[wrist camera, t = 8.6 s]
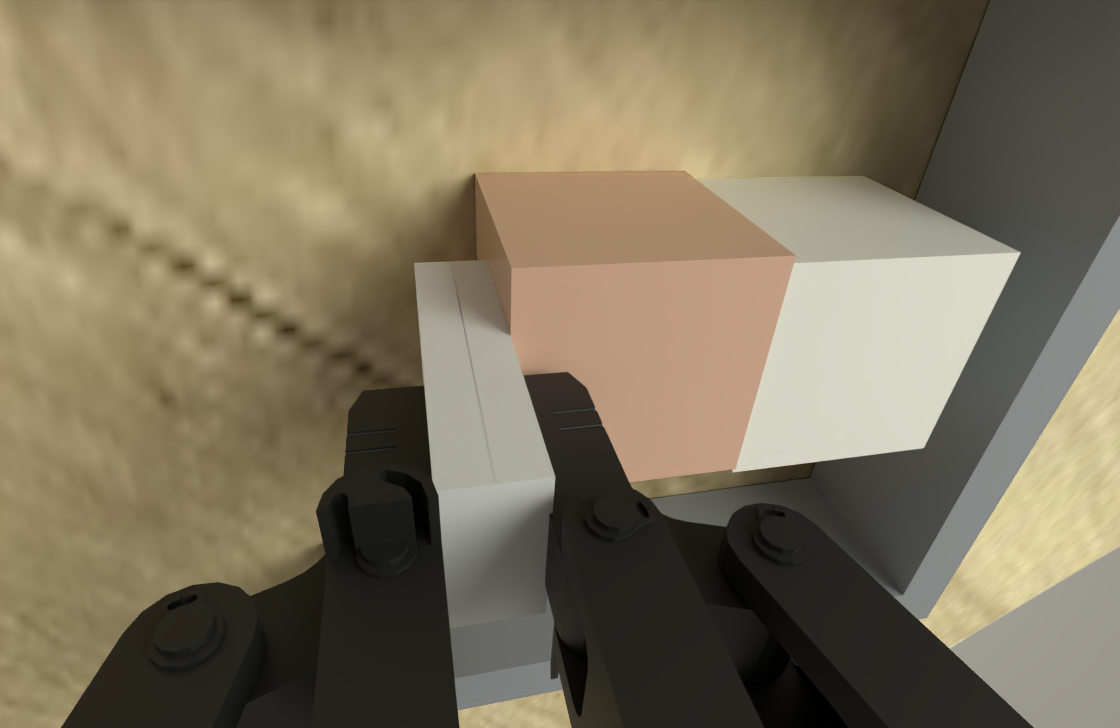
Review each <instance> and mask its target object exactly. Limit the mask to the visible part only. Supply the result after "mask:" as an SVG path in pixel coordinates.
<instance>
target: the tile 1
mask: <svg viewBox="0 0 1120 728" xmlns="http://www.w3.org/2000/svg"><path fill="white" fill-rule="evenodd" d="M475 201H476V254H477V260H487V263H488V266H489V269H490V272H491V275H492V278H493V282H494V285H495V288H496V291H497V294H498V297H499V301H500V304H501V307H502V310H503V313H504V316H505V320H506V323H507V326H508V329H509V332H510V335H511V339H512V342H513V345H514V348H515V351H516V354H517V357H518V361H519V364H520V367H521V370H522V373H523V375H535V374H547V373H559V372H569V373H570V374H571V375H572V376H573V377H575V378H576V379H577V380H578V381H579V382H581V383H582V384H583V385H584V386H585V387H587V390H588V392H589V394H590V396H591V399H592V401H593V403H594V405H595V410H596V411H597V412H598V414H599V416H600V419H601V421H602V426H603V427H605V430H606V432H607V434H608V436H609V439H610V441H611V443H612V445H613V447H614V450H615V452H616V454H617V456H618V458H619V461H620V463H621V465H622V467H623V470H624V472H625V474H626V476H627V478H628V481H629V482H636V481H644V480H652V479H660V478H668V477H676V476H684V475H692V474H700V473H708V472H716V471H724V470H732V469H736V466H737V462H738V459H739V455H740V452H741V448H742V445H743V441H744V438H745V434H746V431H747V427H748V423H749V420H750V416H751V413H752V409H753V406H754V402H755V399H756V395H757V392H758V388H759V385H760V381H761V378H762V374H763V371H764V367H765V364H766V360H767V357H768V353H769V350H770V346H771V343H772V339H773V336H774V332H775V329H776V325H777V321H778V318H779V314H780V311H781V307H782V304H783V300H784V297H785V293H786V290H787V286H788V283H789V279H790V276H791V272H792V269H793V265H794V262H795V258H796V255H795V254H793V253H792V252H791V251H789V250H788V249H787V248H786V247H784V246H783V245H782V244H780V243H779V242H778V241H776V240H775V239H774V238H772V237H771V236H770V235H768V234H767V233H766V232H764V231H763V230H762V229H761V228H759V227H758V226H757V225H755V224H754V223H753V222H751V221H750V220H749V219H747V218H746V217H745V216H743V215H742V214H741V213H739V212H738V211H737V210H736V209H734V208H733V207H732V206H730V205H729V204H728V203H726V202H725V201H724V200H722V199H721V198H720V197H718V196H717V195H716V194H714V193H713V192H712V191H711V190H709V189H708V188H707V187H705V186H704V185H703V184H701V183H700V182H699V181H697V180H696V179H695V178H693V177H692V176H691V175H689V174H688V173H687V172H686V171H636V172H545V173H475Z"/></svg>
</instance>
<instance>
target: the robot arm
mask: <svg viewBox="0 0 1120 728" xmlns="http://www.w3.org/2000/svg"><path fill="white" fill-rule="evenodd" d="M414 270H415V282H416V295H417V308H418V321H419V334H420V346H421V359H422V372H423V384H424V386H414V387H402V388H390V389H378V390H366V391H363V392H362V393H361V395H360V396H359V398H358V399H357V400H356V402H355V403H354V404H353V406H352V407H351V409H350V410H349V415H348V427H347V440H346V456H345V464H344V476H342V477H341V478H339V479H337V480H336V481H335V482H334V483H333V484H332V485H331V486H330V487H329V488H328V489H327V490H326V491H325V492H324V493H323V495H322V497H321V500H320V502H319V505H318V507H317V510H316V513H317V518H318V522H319V527H320V531H321V535H322V540H323V544H324V549H325V553H326V554H325V555H324V556H323V557H322V558H321V559H320V560H319V562H317V563H316V564H315V565H313V566H312V567H311V568H309V569H308V570H307V571H305V572H304V573H302V574H300V575H298V576H296V577H294V578H292V579H290V580H288V581H286V582H284V583H282V584H279V585H277V586H274V587H272V588H269V589H267V590H265V591H262V592H260V593H257V594H255V595H252V596H249V595H248V594H246V593H245V592H244V591H243V590H242V589H241V588H239V587H236V586H232V585H228V584H223V583H219V582H216V583H207V584H198V585H192V586H189V587H187V588H184V589H181V590H179V591H176V592H174V593H171V594H168V595H166V596H165V597H163V598H162V599H160V600H159V601H157V602H156V603H154V604H153V605H151V606H150V607H149V608H147V609H146V610H144V611H143V612H142V613H141V614H140V615H139V616H138V617H137V618H136V619H135V620H134V622H133V623H132V624H131V625H130V626H129V627H128V628H127V629H126V631H125V632H124V633H123V634H122V636H121V637H120V639H119V640H118V642H117V643H116V645H115V646H114V648H113V649H112V651H111V652H110V654H109V655H108V657H107V658H106V660H105V662H104V663H103V665H102V666H101V668H100V669H99V671H98V672H97V674H96V675H95V677H94V678H93V680H92V681H91V683H90V684H89V686H88V687H87V689H86V690H85V692H84V693H83V695H82V697H81V698H80V700H79V701H78V703H77V704H76V706H75V707H74V709H73V710H72V712H71V713H70V715H69V716H68V718H67V719H66V721H65V722H64V724H63V725H62V727H61V728H459V720H458V709H457V699H456V688H455V677H454V667H453V656H452V646H451V635H450V628H456V627H462V626H468V625H474V624H480V623H486V622H492V621H498V620H504V619H510V618H516V617H522V616H528V615H534V614H539V613H545V612H546V601H547V595H548V599H549V603H550V607H551V611H552V615H553V619H554V627H553V639H552V651H551V663H550V670H551V679H556V678H558V674H559V675H560V680H561V684H562V688H563V692H564V697H565V701H566V705H567V709H568V714H569V718H570V722H571V727H572V728H1033V727H1032V726H1031V725H1030V724H1029V723H1028V722H1027V721H1026V720H1025V719H1024V718H1022V716H1020V714H1018V713H1017V712H1016V711H1015V710H1014V709H1013V708H1012V707H1011V706H1010V705H1009V704H1008V703H1007V702H1006V701H1005V700H1004V699H1002V698H1001V697H1000V696H999V695H998V694H997V693H996V692H995V691H994V690H993V689H992V688H991V687H990V686H989V685H987V684H986V683H985V682H984V681H983V680H982V679H981V678H980V677H979V676H978V675H977V674H976V673H974V671H972V670H971V669H970V668H969V667H968V666H967V665H966V664H965V663H964V662H963V661H962V660H961V659H960V658H959V657H957V656H956V655H955V654H954V653H953V652H952V651H951V650H950V649H949V648H948V647H947V646H946V645H945V644H944V643H943V642H941V641H940V640H939V639H938V638H937V637H936V636H935V635H934V634H933V633H932V632H931V631H930V630H929V629H928V628H926V627H925V626H924V625H923V624H922V623H921V622H920V621H919V620H918V619H917V618H916V617H915V616H914V615H913V614H911V613H910V612H909V611H908V610H907V609H906V608H905V607H904V606H903V605H902V604H901V603H900V602H899V601H898V600H897V599H895V598H894V597H893V596H892V595H891V594H890V593H889V592H888V591H887V590H886V589H885V588H884V587H883V586H882V585H880V584H879V583H878V582H877V581H876V580H875V579H874V578H873V577H872V576H871V575H870V574H869V573H868V572H867V571H865V570H864V569H863V568H862V567H861V566H860V565H859V564H858V563H857V562H856V561H855V560H854V559H853V558H852V557H851V556H849V555H848V554H847V553H846V552H845V551H844V550H843V549H842V548H841V547H840V546H839V545H838V544H837V543H836V542H834V541H833V540H832V539H831V538H830V537H829V536H828V535H827V534H826V533H825V532H824V531H823V530H822V529H821V528H819V527H818V526H817V525H816V524H815V523H813V522H812V521H810V520H809V519H808V518H806V517H805V516H803V515H802V514H801V513H799V512H796V511H794V510H791V509H789V508H786V507H784V506H781V505H775V504H767V503H757V504H751V505H746V506H743V507H742V508H740V509H739V510H737V511H736V512H734V513H733V514H732V515H731V517H730V520H729V522H728V524H727V526H726V527H725V526H717V525H710V524H702V523H694V522H687V521H683V520H678V519H674V518H671V517H668V516H666V515H664V514H661V512H660V511H659V510H658V508H657V507H656V506H655V504H654V503H653V502H652V500H650V499H649V498H647V497H646V496H644V495H643V494H641V493H640V492H638V491H637V490H634V489H633V488H632V487H631V485H630V483H629V481H628V478H627V476H626V474H625V472H624V470H623V467H622V465H621V463H620V461H619V458H618V456H617V454H616V452H615V450H614V447H613V445H612V443H611V441H610V439H609V436H608V434H607V432H606V430H605V427H603V426H602V421H601V419H600V416H599V414H598V412H597V411H596V410H595V405H594V403H593V401H592V399H591V396H590V394H589V392H588V390H587V387H585V386H584V385H583V384H582V383H581V382H579V381H578V380H577V379H576V378H575V377H573V376H572V375H571V374H570V373H569V372H559V373H547V374H535V375H523V373H522V370H521V367H520V364H519V361H518V357H517V354H516V351H515V348H514V345H513V342H512V339H511V335H510V332H509V329H508V326H507V323H506V320H505V316H504V313H503V310H502V307H501V304H500V301H499V297H498V294H497V291H496V288H495V285H494V282H493V278H492V275H491V272H490V269H489V266H488V263H487V260H471V261H447V262H422V263H414Z"/></svg>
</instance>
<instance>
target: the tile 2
mask: <svg viewBox="0 0 1120 728" xmlns="http://www.w3.org/2000/svg"><path fill="white" fill-rule="evenodd" d="M695 179H696V180H697V181H699V182H700V183H701V184H703V185H704V186H705V187H707V188H708V189H709V190H711V191H712V192H713V193H714V194H716V195H717V196H718V197H720V198H721V199H722V200H724V201H725V202H726V203H728V204H729V205H730V206H732V207H733V208H734V209H736V210H737V211H738V212H739V213H741V214H742V215H743V216H745V217H746V218H747V219H749V220H750V221H751V222H753V223H754V224H755V225H757V226H758V227H759V228H761V229H762V230H763V231H764V232H766V233H767V234H768V235H770V236H771V237H772V238H774V239H775V240H776V241H778V242H779V243H780V244H782V245H783V246H784V247H786V248H787V249H788V250H789V251H791V252H792V253H793V254H795V255H796V258H795V262H794V265H793V269H792V272H791V276H790V279H789V283H788V286H787V290H786V293H785V297H784V300H783V304H782V307H781V311H780V314H779V318H778V321H777V325H776V329H775V332H774V336H773V339H772V343H771V346H770V350H769V353H768V357H767V360H766V364H765V367H764V371H763V374H762V378H761V381H760V385H759V388H758V392H757V395H756V399H755V402H754V406H753V409H752V413H751V416H750V420H749V423H748V427H747V431H746V434H745V438H744V441H743V445H742V448H741V452H740V455H739V459H738V462H737V466H736V469H732V470H731V471H732V472H740V471H748V470H756V469H764V468H772V467H780V466H787V465H795V464H803V463H811V462H819V461H827V460H835V459H843V458H850V457H858V456H866V455H874V454H882V453H890V452H898V451H906V450H913V449H921V448H924V447H925V445H926V443H927V441H928V439H929V437H930V435H931V433H932V430H933V428H934V426H935V424H936V422H937V420H938V418H939V416H940V414H941V412H942V410H943V408H944V406H945V404H946V402H947V400H948V398H949V396H950V394H951V392H952V390H953V388H954V386H955V384H956V382H957V380H958V378H959V376H960V374H961V372H962V370H963V368H964V366H965V364H966V362H967V360H968V358H969V356H970V354H971V352H972V350H973V348H974V346H975V344H976V342H977V340H978V338H979V336H980V334H981V332H982V330H983V328H984V326H985V324H986V322H987V320H988V318H989V316H990V314H991V312H992V310H993V308H994V306H995V304H996V302H997V300H998V298H999V296H1000V294H1001V292H1002V290H1003V287H1004V285H1005V283H1006V281H1007V279H1008V277H1009V275H1010V273H1011V271H1012V269H1013V267H1014V265H1015V263H1016V261H1017V259H1018V257H1019V255H1020V253H1021V252H1019V251H1017V250H1015V249H1013V248H1011V247H1009V246H1007V245H1005V244H1003V243H1000V242H998V241H996V240H994V239H992V238H990V237H988V236H986V235H984V234H982V233H980V232H978V231H976V230H974V229H972V228H970V227H968V226H966V225H964V224H961V223H959V222H957V221H955V220H953V219H951V218H949V217H947V216H945V215H943V214H941V213H939V212H937V211H935V210H933V209H931V208H929V207H927V206H924V205H922V204H920V203H918V202H916V201H914V200H912V199H910V198H908V197H906V196H904V195H902V194H900V193H898V192H896V191H894V190H892V189H890V188H888V187H885V186H883V185H881V184H879V183H877V182H875V181H873V180H871V179H869V178H867V177H865V176H807V177H731V178H695Z"/></svg>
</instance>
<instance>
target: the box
mask: <svg viewBox="0 0 1120 728" xmlns="http://www.w3.org/2000/svg"><path fill="white" fill-rule="evenodd" d="M915 201H916V202H918V203H920V204H922V205H924V206H927V207H929V208H931V209H933V210H935V211H937V212H939V213H941V214H943V215H945V216H947V217H949V218H951V219H953V220H955V221H957V222H959V223H961V224H964V225H966V226H968V227H970V228H972V229H974V230H976V231H978V232H980V233H982V234H984V235H986V236H988V237H990V238H992V239H994V240H996V241H998V242H1000V243H1003V244H1005V245H1007V246H1009V247H1011V248H1013V249H1015V250H1017V251H1019V252H1021V253H1020V255H1019V257H1018V259H1017V261H1016V263H1015V265H1014V267H1013V269H1012V271H1011V273H1010V275H1009V277H1008V279H1007V281H1006V283H1005V285H1004V287H1003V290H1002V292H1001V294H1000V296H999V298H998V300H997V302H996V304H995V306H994V308H993V310H992V312H991V314H990V316H989V318H988V320H987V322H986V324H985V326H984V328H983V330H982V332H981V334H980V336H979V338H978V340H977V342H976V344H975V346H974V348H973V350H972V352H971V354H970V356H969V358H968V360H967V362H966V364H965V366H964V368H963V370H962V372H961V374H960V376H959V378H958V380H957V382H956V384H955V386H954V388H953V390H952V392H951V394H950V396H949V398H948V400H947V402H946V404H945V406H944V408H943V410H942V412H941V414H940V416H939V418H938V420H937V422H936V424H935V426H934V428H933V430H932V433H931V435H930V437H929V439H928V441H927V443H926V445H925V447H924V448H921V449H913V450H906V451H898V452H890V453H882V454H874V455H866V456H858V457H850V458H843V459H835V460H827V461H819V462H816V463H815V466H814V469H813V471H812V474H811V477H810V478H804V479H796V480H789V481H781V482H774V483H766V484H759V485H751V486H743V487H736V488H728V489H721V490H713V491H706V492H698V493H691V494H683V495H675V496H668V497H660V498H653V499H650V500H652V502H653V503H654V504H655V506H656V507H657V508H658V510H659V511H660V512H661V514H664V515H666V516H668V517H671V518H674V519H678V520H683V521H687V522H694V523H702V524H710V525H717V526H725V527H726V526H727V524H728V522H729V520H730V517H731V515H732V514H733V513H734V512H736V511H737V510H739V509H740V508H742V507H743V506H746V505H751V504H757V503H767V504H775V505H781V506H784V507H786V508H789V509H791V510H794V511H796V512H799V513H801V514H802V515H803V516H805V517H806V518H808V519H809V520H810V521H812V522H813V523H815V524H816V525H817V526H818V527H819V528H821V529H822V530H823V531H824V532H825V533H826V534H827V535H828V536H829V537H830V538H831V539H832V540H833V541H834V542H836V543H837V544H838V545H839V546H840V547H841V548H842V549H843V550H844V551H845V552H846V553H847V554H848V555H849V556H851V557H852V558H853V559H854V560H855V561H856V562H857V563H858V564H859V565H860V566H861V567H862V568H863V569H864V570H865V571H867V572H868V573H869V574H870V575H871V576H872V577H873V578H874V579H875V580H876V581H877V582H878V583H879V584H880V585H882V586H883V587H884V588H885V589H886V590H887V591H888V592H889V593H890V594H891V595H892V596H893V597H894V598H895V599H897V600H898V601H899V602H900V603H901V604H902V605H903V606H904V607H905V608H906V609H907V610H908V611H909V612H910V613H911V614H913V615H914V616H915V617H916V618H917V619H923V618H927V617H928V615H929V614H930V612H931V610H932V609H933V607H934V606H935V604H936V602H937V601H938V599H939V598H940V596H941V594H942V593H943V591H944V589H945V588H946V586H947V585H948V583H949V581H950V580H951V578H952V577H953V575H954V573H955V572H956V570H957V569H958V567H959V565H960V564H961V562H962V561H963V559H964V557H965V556H966V554H967V553H968V551H969V549H970V548H971V546H972V545H973V543H974V541H975V540H976V538H977V536H978V535H979V533H980V532H981V530H982V528H983V527H984V525H985V524H986V522H987V520H988V519H989V517H990V516H991V514H992V512H993V511H994V509H995V508H996V506H997V504H998V503H999V501H1000V500H1001V498H1002V496H1003V495H1004V493H1005V492H1006V490H1007V488H1008V487H1009V485H1010V483H1011V482H1012V480H1013V479H1014V477H1015V475H1016V474H1017V472H1018V471H1019V469H1020V467H1021V466H1022V464H1023V463H1024V461H1025V459H1026V458H1027V456H1028V455H1029V453H1030V451H1031V450H1032V448H1033V447H1034V445H1035V443H1036V442H1037V440H1038V438H1039V437H1040V435H1041V434H1042V432H1043V430H1044V429H1045V427H1046V426H1047V424H1048V422H1049V421H1050V419H1051V418H1052V416H1053V414H1054V413H1055V411H1056V410H1057V408H1058V406H1059V405H1060V403H1061V402H1062V400H1063V398H1064V397H1065V395H1066V394H1067V392H1068V390H1069V389H1070V387H1071V385H1072V384H1073V382H1074V381H1075V379H1076V377H1077V376H1078V374H1079V373H1080V371H1081V369H1082V368H1083V366H1084V365H1085V363H1086V361H1087V360H1088V358H1089V357H1090V355H1091V353H1092V352H1093V350H1094V349H1095V347H1096V345H1097V344H1098V342H1099V340H1100V339H1101V337H1102V336H1103V334H1104V332H1105V331H1106V329H1107V328H1108V326H1109V324H1110V323H1111V321H1112V320H1113V318H1114V316H1115V315H1116V313H1117V312H1118V310H1119V308H1120V0H990V2H989V5H988V8H987V10H986V13H985V16H984V18H983V21H982V24H981V26H980V29H979V31H978V34H977V37H976V39H975V42H974V45H973V47H972V50H971V53H970V55H969V58H968V61H967V63H966V66H965V69H964V71H963V74H962V77H961V79H960V82H959V84H958V87H957V90H956V92H955V95H954V98H953V100H952V103H951V106H950V108H949V111H948V114H947V116H946V119H945V122H944V124H943V127H942V130H941V132H940V135H939V138H938V140H937V143H936V145H935V148H934V151H933V153H932V156H931V159H930V161H929V164H928V167H927V169H926V172H925V175H924V177H923V180H922V183H921V185H920V188H919V191H918V193H917V196H916V198H915ZM325 554H326V553H325ZM553 627H554V619H553V615H552V611H551V607H550V603H549V599H548V595H547V601H546V612H545V613H539V614H534V615H528V616H522V617H516V618H510V619H504V620H498V621H492V622H486V623H480V624H474V625H468V626H462V627H456V628H450V635H451V646H452V656H453V667H454V677H455V688H456V699H457V709H458V710H462V709H467V708H472V707H477V706H482V705H487V704H492V703H497V702H502V701H507V700H512V699H517V698H522V697H528V696H533V695H538V694H543V693H548V692H553V691H558V690H563V688H562V684H561V680H560V675H559V674H558V678H556V679H551V670H550V663H551V651H552V639H553Z"/></svg>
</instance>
